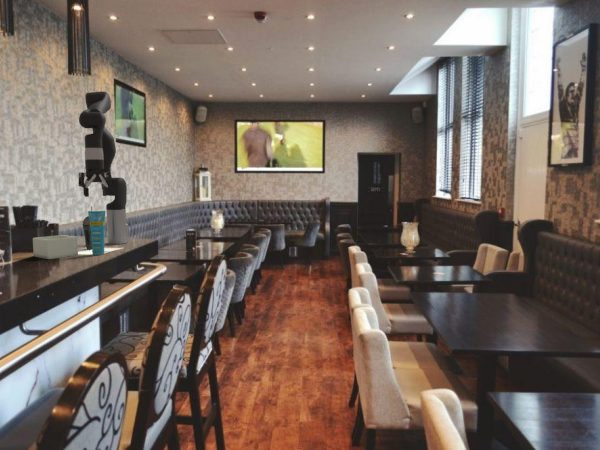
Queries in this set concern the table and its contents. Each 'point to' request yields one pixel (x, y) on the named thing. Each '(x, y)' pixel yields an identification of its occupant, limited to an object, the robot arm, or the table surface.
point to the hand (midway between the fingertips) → (95, 196)
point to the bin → (55, 246)
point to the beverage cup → (87, 232)
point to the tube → (97, 231)
